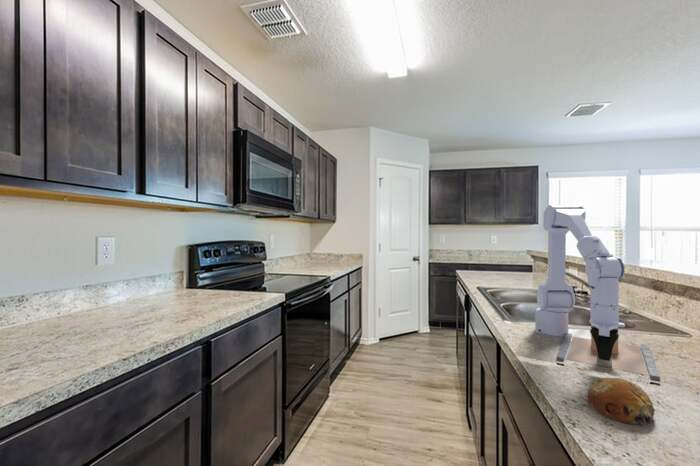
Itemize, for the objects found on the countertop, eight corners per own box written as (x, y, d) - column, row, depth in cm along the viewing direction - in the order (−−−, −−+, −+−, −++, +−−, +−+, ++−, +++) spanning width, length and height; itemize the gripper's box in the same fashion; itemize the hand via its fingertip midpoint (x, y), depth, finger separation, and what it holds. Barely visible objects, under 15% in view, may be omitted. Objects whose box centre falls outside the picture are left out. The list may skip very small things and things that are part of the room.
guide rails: (556, 364, 87) (556, 356, 87) (565, 339, 108) (565, 332, 108) (660, 385, 75) (660, 376, 75) (648, 352, 95) (648, 345, 95)
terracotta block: (591, 349, 95) (591, 328, 95) (591, 343, 99) (591, 323, 99) (618, 354, 91) (618, 332, 91) (617, 348, 96) (617, 327, 96)
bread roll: (643, 425, 66) (635, 382, 69) (671, 430, 57) (660, 380, 60) (585, 417, 69) (579, 375, 72) (602, 419, 60) (595, 372, 63)
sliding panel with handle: (566, 363, 87) (566, 340, 87) (573, 339, 106) (573, 321, 106) (647, 379, 78) (647, 353, 78) (639, 350, 97) (639, 329, 97)
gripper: (626, 311, 76) (626, 370, 76) (623, 301, 87) (623, 352, 87) (588, 307, 80) (588, 363, 80) (590, 298, 92) (590, 347, 92)
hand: (604, 357), depth 84 cm, fingers closed on sliding panel with handle, 3 cm apart
